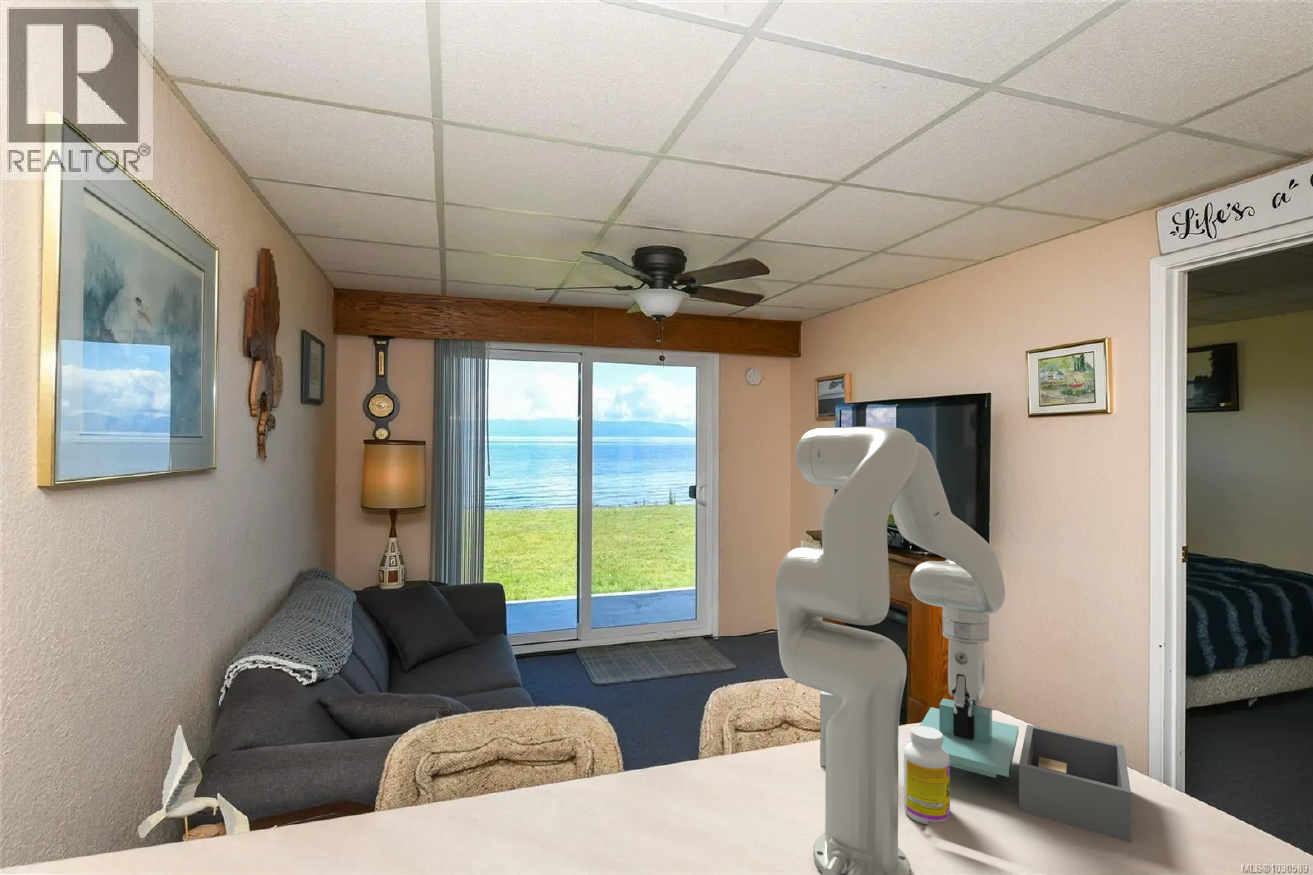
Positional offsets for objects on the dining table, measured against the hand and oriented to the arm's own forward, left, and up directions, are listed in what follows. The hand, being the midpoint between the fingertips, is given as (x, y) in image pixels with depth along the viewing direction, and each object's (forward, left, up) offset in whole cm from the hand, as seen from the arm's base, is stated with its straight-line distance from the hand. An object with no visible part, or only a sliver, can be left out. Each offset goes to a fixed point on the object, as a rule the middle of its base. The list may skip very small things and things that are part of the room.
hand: (965, 731), depth 112 cm
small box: (-8, +20, -7) cm, 23 cm away
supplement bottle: (-18, +3, -7) cm, 20 cm away
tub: (-1, -16, -7) cm, 18 cm away
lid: (0, 0, -3) cm, 3 cm away
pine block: (+3, -13, -6) cm, 15 cm away
